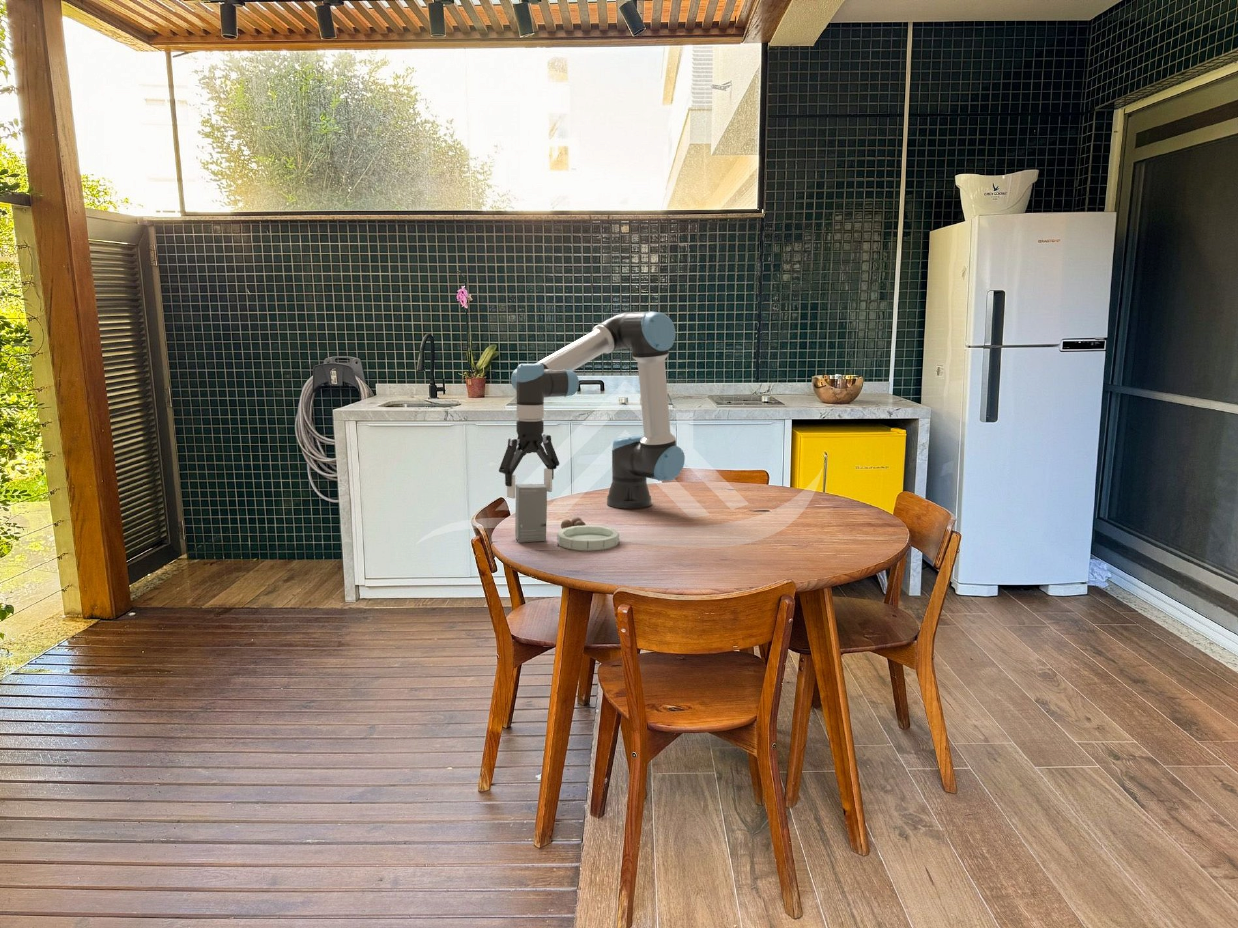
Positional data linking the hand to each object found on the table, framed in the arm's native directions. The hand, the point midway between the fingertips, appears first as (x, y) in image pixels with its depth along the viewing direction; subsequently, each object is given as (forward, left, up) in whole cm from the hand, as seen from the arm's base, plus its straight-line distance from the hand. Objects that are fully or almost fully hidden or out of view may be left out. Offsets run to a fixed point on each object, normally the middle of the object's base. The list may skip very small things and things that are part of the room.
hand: (529, 494), depth 235 cm
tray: (-9, +14, -13) cm, 21 cm away
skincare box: (0, 0, -13) cm, 13 cm away
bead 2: (-17, +1, -13) cm, 22 cm away
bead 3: (-15, +4, -13) cm, 21 cm away
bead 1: (-13, +1, -13) cm, 19 cm away
